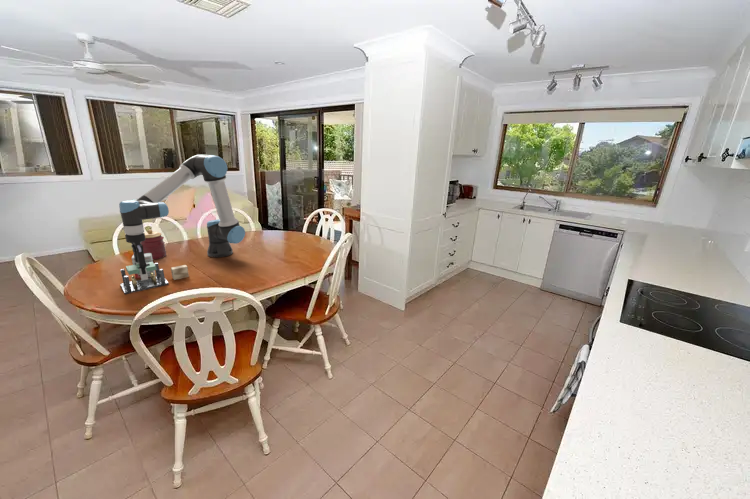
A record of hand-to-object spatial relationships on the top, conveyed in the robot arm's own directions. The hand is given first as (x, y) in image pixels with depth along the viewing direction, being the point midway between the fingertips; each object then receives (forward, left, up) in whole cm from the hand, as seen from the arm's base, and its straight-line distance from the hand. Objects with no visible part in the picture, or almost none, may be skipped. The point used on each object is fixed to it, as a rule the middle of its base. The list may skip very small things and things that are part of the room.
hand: (143, 276), depth 155 cm
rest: (-16, 0, -5) cm, 17 cm away
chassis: (0, 0, -5) cm, 5 cm away
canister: (-13, -45, -5) cm, 47 cm away
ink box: (-3, -14, -5) cm, 15 cm away
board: (0, 0, +4) cm, 4 cm away
